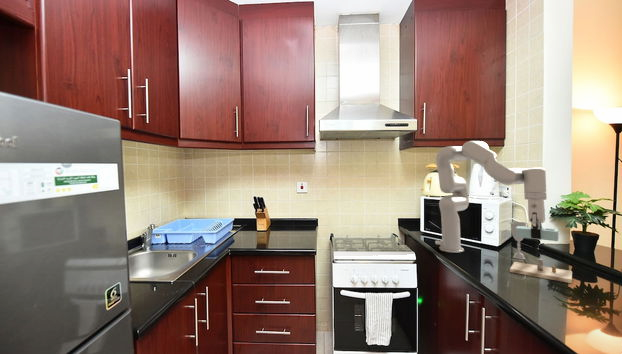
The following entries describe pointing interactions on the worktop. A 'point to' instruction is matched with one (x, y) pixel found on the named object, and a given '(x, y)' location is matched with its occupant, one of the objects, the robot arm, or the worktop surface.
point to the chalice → (517, 238)
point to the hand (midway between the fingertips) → (536, 236)
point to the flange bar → (545, 233)
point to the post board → (542, 271)
